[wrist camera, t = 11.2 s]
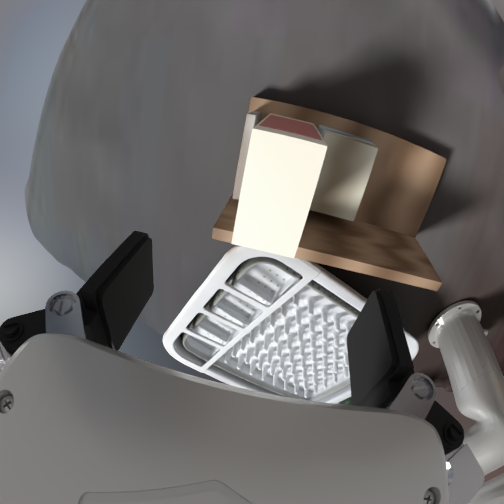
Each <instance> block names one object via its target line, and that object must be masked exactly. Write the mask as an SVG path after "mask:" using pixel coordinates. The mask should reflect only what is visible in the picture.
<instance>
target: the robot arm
mask: <svg viewBox="0 0 504 504" xmlns="http://www.w3.org/2000/svg"><path fill="white" fill-rule="evenodd" d="M153 289H154V284H153V262H152V239H151V238H149V236H148V234H147V233H143V232H138V231H134V232H133V233H132V234H131V235H130V236H129V237H128V238H127V239H126V240H125V241H124V242H123V243H122V244H121V245H120V246H119V247H118V248H117V249H116V250H115V251H114V252H113V254H112V255H111V256H110V257H109V258H108V259H107V260H106V261H105V262H104V263H103V264H102V265H101V266H100V267H99V268H98V269H97V271H96V272H95V273H94V274H93V275H92V276H91V277H90V278H89V280H88V281H87V282H86V283H85V284H84V285H83V287H82V288H81V289H80V290H79V291H78V292H77V294H75V293H73V292H71V291H61V292H57V293H55V294H54V295H52V296H51V297H50V298H49V299H48V301H47V303H46V307H45V309H43V310H39V311H35V312H32V313H28V314H24V315H20V316H16V317H13V318H10V319H7V320H6V321H5V322H4V323H3V324H2V325H1V327H0V504H504V473H503V474H501V475H500V476H497V477H495V478H493V479H491V480H489V481H487V482H485V483H484V475H486V474H488V473H490V472H492V471H494V470H496V469H498V468H499V467H501V466H503V465H504V377H503V374H502V372H501V369H500V367H499V364H498V362H497V360H496V357H495V355H494V353H493V350H492V348H491V346H490V344H489V342H488V339H487V337H486V335H487V334H488V330H486V329H483V328H482V326H481V324H480V320H481V314H482V313H481V309H480V307H479V305H478V304H477V303H476V302H474V301H470V300H465V301H460V302H457V303H455V304H453V305H451V306H449V307H448V308H446V309H444V310H443V311H442V312H441V313H440V314H439V315H438V316H437V317H436V318H435V319H434V320H433V322H432V323H431V325H430V327H429V330H428V339H429V342H430V344H431V345H432V346H434V347H436V348H440V351H441V354H442V357H443V360H444V363H445V366H446V369H447V372H448V375H449V379H450V382H451V385H452V389H453V393H454V396H455V400H456V404H457V407H458V409H459V411H460V412H461V413H462V414H463V415H465V416H466V417H469V418H471V419H473V420H476V421H477V423H476V424H475V425H474V426H473V427H471V428H469V429H468V430H466V431H464V430H463V428H462V426H461V424H460V423H459V422H458V421H457V420H456V419H455V418H454V417H453V416H452V415H450V414H449V413H448V412H447V411H446V410H445V409H444V408H443V407H442V406H441V405H440V404H438V403H437V402H436V401H435V398H436V394H437V391H436V387H435V384H434V382H433V381H432V380H431V379H430V378H429V377H428V376H427V375H425V374H422V373H414V369H413V368H414V366H413V362H412V358H411V354H410V351H409V347H408V343H407V340H406V336H405V333H404V330H403V326H402V323H401V320H400V317H399V313H398V310H397V307H396V304H395V301H394V298H393V295H392V293H391V291H389V290H385V289H380V288H378V289H377V290H376V291H372V292H371V294H370V296H369V298H368V300H367V301H366V303H365V305H364V307H363V308H362V310H361V312H360V314H359V315H358V317H357V319H356V321H355V322H354V324H353V326H352V327H351V329H350V331H349V332H348V335H347V350H348V361H349V372H350V386H351V402H352V405H353V406H352V405H343V404H334V403H325V402H317V401H310V400H303V399H296V398H290V397H284V396H279V395H273V394H268V393H263V392H258V391H253V390H248V389H243V388H239V387H235V386H230V385H226V384H221V383H218V382H214V381H210V380H206V379H203V378H199V377H195V376H192V375H188V374H185V373H182V372H178V371H175V370H172V369H169V368H165V367H162V366H159V365H156V364H153V363H150V362H147V361H145V360H142V359H139V358H136V357H133V356H130V355H127V354H125V353H122V352H119V351H118V350H119V348H120V347H121V345H122V343H123V341H124V340H125V338H126V336H127V335H128V333H129V331H130V330H131V328H132V326H133V324H134V323H135V321H136V320H137V318H138V316H139V315H140V313H141V311H142V310H143V308H144V306H145V305H146V303H147V302H148V300H149V298H150V297H151V295H152V293H153Z"/></svg>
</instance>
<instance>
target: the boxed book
mask: <svg viewBox="0 0 504 504" xmlns="http://www.w3.org/2000/svg"><path fill="white" fill-rule="evenodd" d="M326 150H327V145H326V143H325V141H324V140H323V138H322V136H321V134H320V133H319V131H318V129H317V128H316V126H315V125H314V124H313V123H309V122H305V121H301V120H297V119H293V118H289V117H284V116H280V115H275V114H269V115H268V116H267V117H265V118H264V119H263V120H262V121H261V122H259V123H258V124H257V125H256V126H255V127H254V128H252V133H251V138H250V143H249V149H248V154H247V159H246V165H245V170H244V175H243V181H242V186H241V192H240V197H239V203H238V209H237V214H236V220H235V226H234V231H233V237H232V243H231V244H235V245H239V246H243V247H247V248H252V249H256V250H260V251H264V252H269V253H273V254H277V255H281V256H286V257H290V258H294V257H295V254H296V251H297V248H298V245H299V242H300V239H301V235H302V232H303V229H304V226H305V222H306V219H307V216H308V213H309V209H310V206H311V203H312V199H313V196H314V192H315V189H316V186H317V182H318V179H319V175H320V172H321V168H322V165H323V161H324V157H325V154H326Z"/></svg>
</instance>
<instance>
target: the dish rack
mask: <svg viewBox="0 0 504 504" xmlns="http://www.w3.org/2000/svg"><path fill="white" fill-rule="evenodd" d="M367 300H368V299H366V298H365V297H363V296H362V295H361V294H359V293H358V292H357V291H355V290H354V289H352V288H351V287H350V286H348V285H347V284H345V283H344V282H343V281H341V280H340V279H338V278H337V277H336V276H334V275H333V274H331V273H330V272H328V271H327V270H326V269H324V268H323V267H321V266H320V265H318V264H317V263H315V262H312V261H307V260H303V259H299V258H290V257H286V256H281V255H277V254H273V253H269V252H264V251H260V250H256V249H252V248H247V247H243V246H239V245H236V246H234V247H233V248H232V249H230V250H229V251H228V252H227V253H226V254H225V255H224V256H223V258H222V259H221V260H220V262H219V263H218V264H217V265H216V267H215V268H214V269H213V271H212V272H211V273H210V275H209V276H208V277H207V279H206V280H205V281H204V282H203V284H202V285H201V286H200V287H199V289H198V290H197V291H196V292H195V294H194V295H193V296H192V297H191V299H190V300H189V301H188V303H187V304H186V305H185V307H184V308H183V309H182V311H181V312H180V313H179V315H178V316H177V317H176V319H175V320H174V321H173V323H172V324H171V325H170V327H169V328H168V330H167V331H166V332H165V334H164V336H163V344H164V346H165V348H166V350H167V351H168V352H169V354H170V355H171V356H173V357H174V358H175V359H176V360H178V361H180V362H181V363H183V364H185V365H188V366H189V367H191V368H193V369H195V370H197V371H199V372H201V373H205V374H207V375H209V376H212V377H214V378H216V379H218V380H220V381H222V382H225V383H227V384H229V385H231V386H235V387H239V388H243V389H248V390H253V391H258V392H263V393H268V394H273V395H279V396H284V397H290V398H296V399H303V400H310V401H317V402H325V403H334V404H336V403H338V402H341V401H343V400H345V399H347V398H349V397H351V386H350V372H349V361H348V350H347V335H348V332H349V331H350V329H351V327H352V326H353V324H354V322H355V321H356V319H357V317H358V315H359V314H360V312H361V310H362V308H363V307H364V305H365V303H366V301H367ZM403 330H404V328H403ZM404 333H405V336H406V340H407V343H408V347H409V351H410V354H411V358H412V360H413V359H414V357H415V356H416V354H417V352H418V349H419V344H418V341H417V340H416V338H415V337H413V336H412V335H410V334H409V333H408V332H406V331H405V330H404Z"/></svg>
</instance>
